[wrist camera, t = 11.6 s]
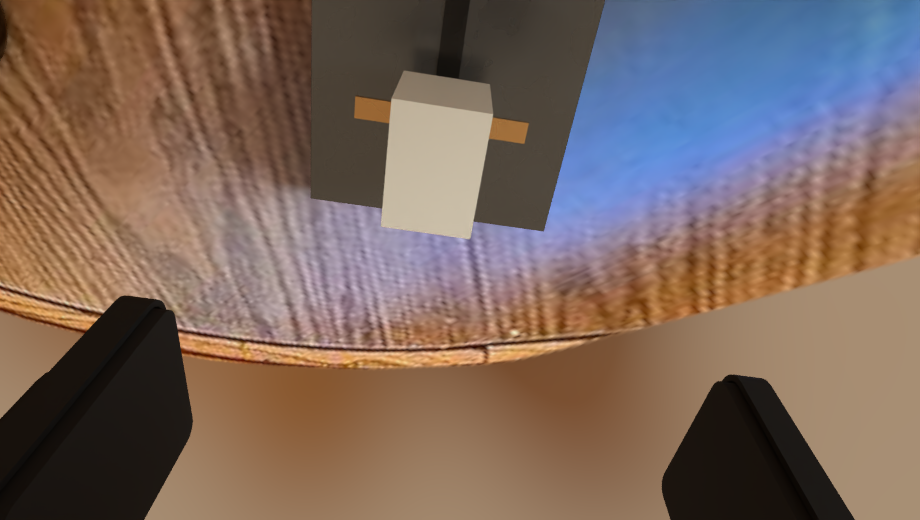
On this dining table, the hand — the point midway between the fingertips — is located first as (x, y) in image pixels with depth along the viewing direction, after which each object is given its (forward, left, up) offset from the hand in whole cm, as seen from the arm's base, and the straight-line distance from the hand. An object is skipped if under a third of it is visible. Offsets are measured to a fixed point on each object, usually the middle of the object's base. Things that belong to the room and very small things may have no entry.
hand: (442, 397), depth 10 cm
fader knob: (+1, +1, -17) cm, 17 cm away
